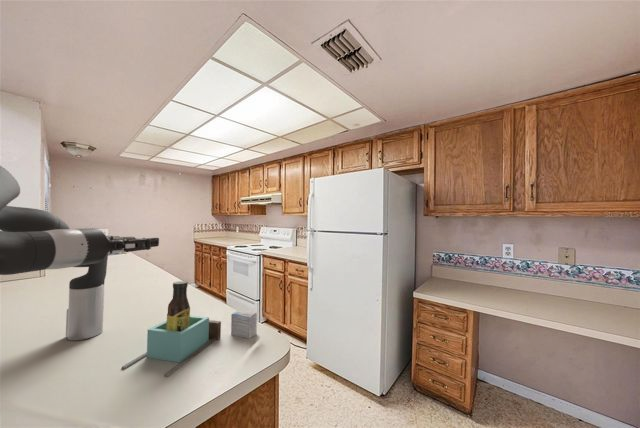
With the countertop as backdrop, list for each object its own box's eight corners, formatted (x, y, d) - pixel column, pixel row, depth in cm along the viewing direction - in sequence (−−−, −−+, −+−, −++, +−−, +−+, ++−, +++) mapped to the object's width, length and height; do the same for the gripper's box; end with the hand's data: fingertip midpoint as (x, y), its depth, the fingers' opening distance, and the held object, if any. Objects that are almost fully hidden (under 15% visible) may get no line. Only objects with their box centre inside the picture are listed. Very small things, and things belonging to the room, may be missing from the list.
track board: (118, 373, 67) (119, 347, 68) (180, 336, 89) (180, 316, 89) (169, 382, 64) (169, 355, 64) (220, 342, 86) (220, 321, 86)
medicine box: (256, 336, 90) (257, 312, 90) (249, 342, 86) (250, 316, 86) (238, 333, 93) (239, 309, 93) (230, 338, 88) (231, 313, 89)
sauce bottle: (178, 354, 73) (180, 286, 74) (160, 351, 75) (162, 284, 75) (193, 343, 80) (195, 280, 80) (176, 341, 81) (178, 279, 81)
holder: (146, 357, 73) (147, 329, 73) (178, 337, 85) (179, 314, 85) (180, 362, 71) (181, 334, 71) (208, 341, 83) (209, 317, 83)
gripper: (100, 229, 48) (167, 227, 64) (45, 228, 51) (122, 226, 67) (98, 269, 48) (166, 257, 64) (43, 264, 51) (121, 254, 67)
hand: (144, 241), depth 65 cm, fingers open, 8 cm apart
